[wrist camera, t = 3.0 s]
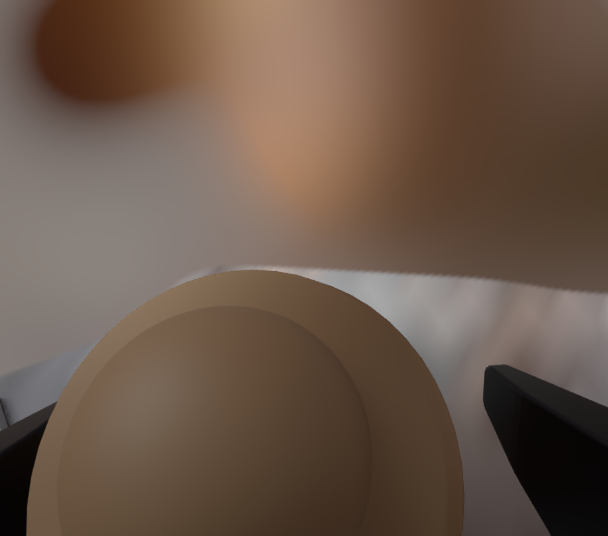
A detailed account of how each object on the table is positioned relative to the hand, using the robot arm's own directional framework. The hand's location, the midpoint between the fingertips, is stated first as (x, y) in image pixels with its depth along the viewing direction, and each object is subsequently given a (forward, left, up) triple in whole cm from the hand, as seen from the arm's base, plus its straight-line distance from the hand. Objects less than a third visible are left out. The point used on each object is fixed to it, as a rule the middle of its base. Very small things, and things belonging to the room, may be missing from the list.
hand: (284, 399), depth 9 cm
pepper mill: (-1, +1, -8) cm, 8 cm away
